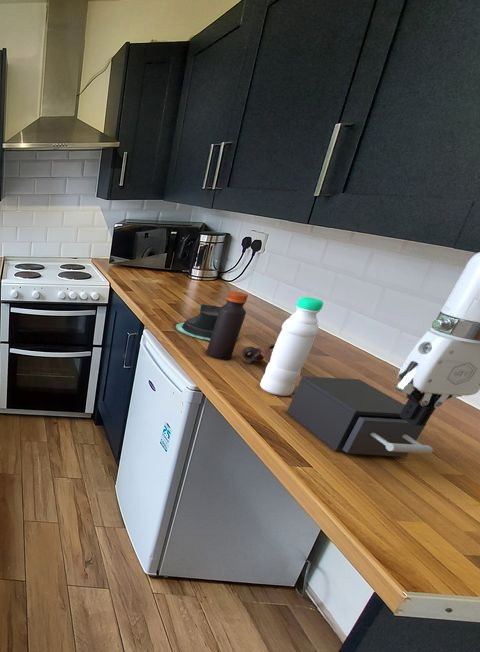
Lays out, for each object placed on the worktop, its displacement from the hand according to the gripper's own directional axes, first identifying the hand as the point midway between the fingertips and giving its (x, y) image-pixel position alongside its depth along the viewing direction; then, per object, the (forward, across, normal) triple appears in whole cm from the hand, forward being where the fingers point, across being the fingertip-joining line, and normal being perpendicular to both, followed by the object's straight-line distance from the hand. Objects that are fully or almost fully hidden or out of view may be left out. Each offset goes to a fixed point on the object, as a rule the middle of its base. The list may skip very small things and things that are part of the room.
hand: (411, 421), depth 74 cm
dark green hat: (+11, +1, +73) cm, 74 cm away
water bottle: (+11, -2, +30) cm, 32 cm away
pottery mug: (+11, +3, +44) cm, 46 cm away
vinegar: (+11, -5, +52) cm, 53 cm away
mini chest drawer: (+10, 0, +7) cm, 12 cm away
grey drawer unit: (+11, 0, +12) cm, 16 cm away
